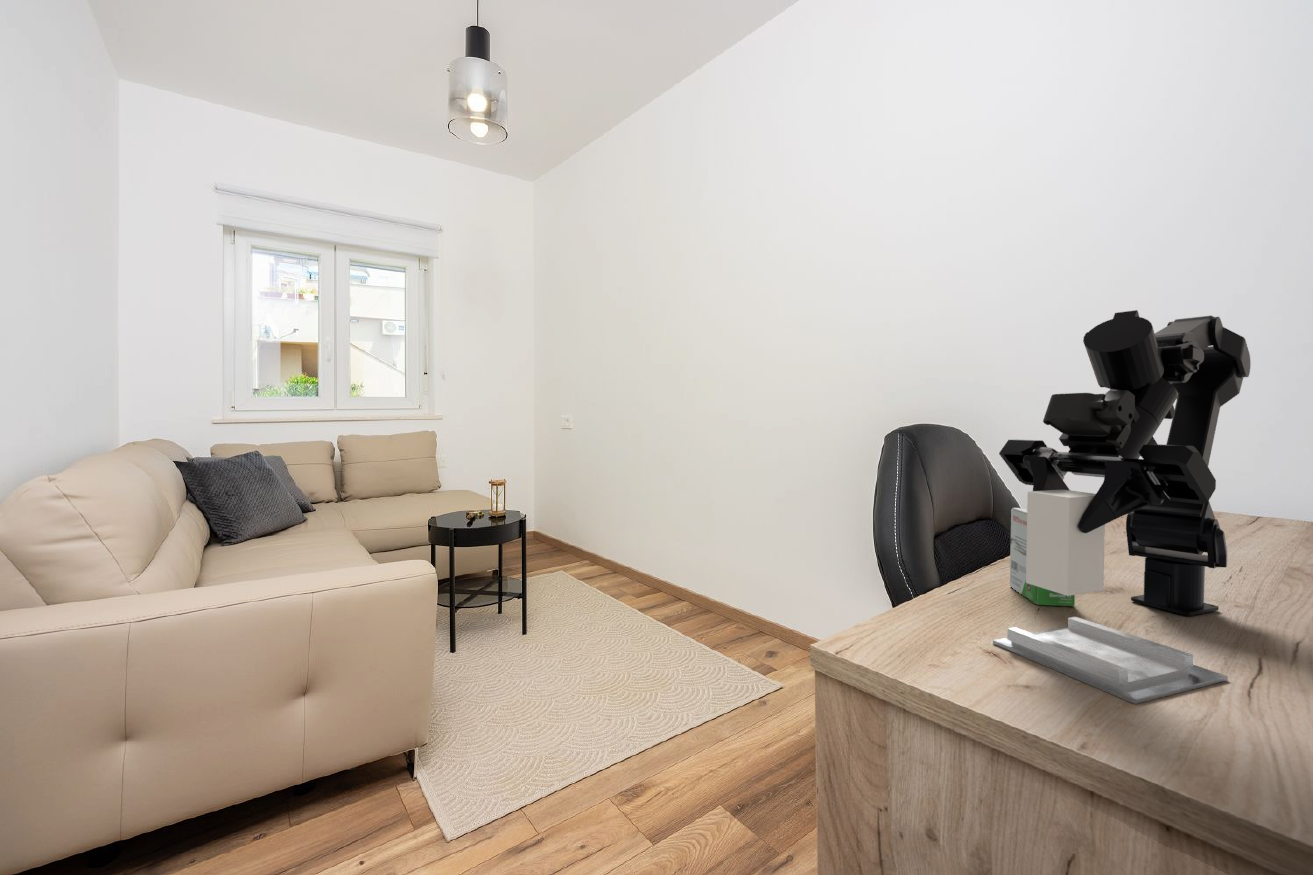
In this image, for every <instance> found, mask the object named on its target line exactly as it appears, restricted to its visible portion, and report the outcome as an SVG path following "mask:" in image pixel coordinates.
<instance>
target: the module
mask: <svg viewBox="0 0 1313 875" xmlns="http://www.w3.org/2000/svg"><path fill="white" fill-rule="evenodd" d="M1095 495H1096V493H1093V492H1084V491H1077V490H1071V489H1069V490H1063V489H1061V490H1046V491H1033V490H1031V491H1027V503H1026V504H1027V505H1026V508H1027V552H1026V583H1028V584H1031V585H1035V586H1038V587H1041V588H1044V589H1047V590H1051V591H1054V592H1057V593H1060V594H1063V595H1066V596H1069V595H1082V594H1090V593H1097V592H1104V584H1105V583H1104V579H1105V578H1104V577H1105V576H1104V575H1105V543H1106V540H1105V537H1106V536H1105V535H1106V534H1105V533H1106V524H1105V525H1103V526H1100V527H1098V528H1096V529H1094V530H1092V531H1090V532H1088V533H1082V532H1081V531H1080V529H1079V528H1078V524H1079V522H1080V520H1081V518H1082V516H1083V514H1084V512H1085V510H1086V509H1087V507H1088V506H1089V504H1090V503H1091V501H1092V499H1093V498H1094V496H1095Z"/></svg>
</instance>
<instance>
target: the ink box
mask: <svg viewBox="0 0 1313 875" xmlns="http://www.w3.org/2000/svg"><path fill="white" fill-rule="evenodd" d="M1010 514H1011V515H1010V516H1011V517H1010V551H1009V552H1010V553H1009V554H1010V556H1009V557H1010V559H1009V561H1010V562H1009V587H1010V586H1011V587H1012V588H1013V590H1014V591H1015V590H1016V592H1017V593H1018V592H1019V593H1018V594H1020V595H1021V594H1022V596H1023V597H1024V598H1026V599H1027V598H1028V599H1027V600H1029V601H1030V602H1032V603H1034V604H1035V605H1038V606H1059V607H1075V603H1076V602H1075V600H1076V597H1075V595H1069V596H1066V595H1063V594H1060V593H1057V592H1054V591H1051V590H1047V589H1044V588H1041V587H1038V586H1035V585H1031V584H1028V583H1026V552H1027V507H1012V508H1011V510H1010ZM1011 587H1010V588H1011ZM1012 588H1011V589H1012Z"/></svg>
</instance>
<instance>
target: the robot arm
mask: <svg viewBox="0 0 1313 875" xmlns="http://www.w3.org/2000/svg"><path fill="white" fill-rule="evenodd" d="M1083 344H1084V347H1085V350H1086V353H1087V356H1088V358H1089V362H1090V365H1091V368H1092V370H1093V374H1094V375H1095V376H1094V377H1095V379H1096V382H1097V384H1098V387H1100V388H1106V389H1109V390H1108V391H1107V392H1105V393H1092V392H1069V393H1068V392H1067V393H1054V394H1051V395H1050V400H1049V402H1048V405H1047V407H1046V411H1045V413H1044V417H1043V418H1042V419H1043V420H1042V423H1043V424H1044V425H1046V426H1051V427H1053V429H1055V430H1057V431H1058V432H1060V433H1061V435H1060V436H1059V437H1058V440H1059V442H1060V443H1061V444H1062V446H1063V447H1068V452H1067V451H1057V450H1056V449H1054V448H1053V447H1049V446H1047V444H1046V443H1045V441H1044V440H1041V439H1040V440H1038V439H1008V440H1007V441H1006V443H1005V444H1004V446H1003V447H1002V448H1001V450H1000V451H999V453H998V454H999V456H1000V457H1001V458H1002V460H1003V461H1004V463H1005V464H1006V465H1007V467H1008V468H1009V469H1010V471H1011V472H1012V474H1013V475H1014V476H1015V477H1016V479H1017V480H1018V481H1019V482H1020V483H1022V484H1023V485H1026V486H1027V485H1028V486H1032V491H1046V490H1061V489H1063V490H1070V488H1069V487H1068V485H1067V484H1066V483H1065V481H1064V479H1065V476H1066V475H1067V474H1068V473H1071V474H1072V475H1075V476H1081V477H1082V476H1084V477H1095V478H1104V479H1103V482H1102V484H1101V485H1100V487H1099V488H1098V490H1097V492H1096V493H1095V494H1096V495H1095V496H1094V498H1093V499H1092V501H1091V503H1090V504H1089V506H1088V507H1087V509H1086V510H1085V512H1084V514H1083V516H1082V518H1081V520H1080V522H1079V524H1078V528H1079V529H1080V531H1081V532H1082V533H1088V532H1090V531H1092V530H1094V529H1096V528H1098V527H1100V526H1103V525H1105V526H1106V524H1108V523H1111V522H1113V521H1115V520H1117V519H1119V518H1121V517H1124V516H1125V515H1127V516H1126V519H1125V520H1126V521H1125V531H1126V532H1125V533H1126V539H1127V540H1126V542H1127V550H1128V555H1129V556H1130V557H1131V556H1132V557H1136V556H1137V557H1141V558H1144V571H1143V594H1141V595H1140V594H1139V595H1135V596H1131V597H1130V600H1131V602H1134V603H1138V604H1142V605H1145V606H1149V607H1153V608H1156V609H1160V610H1163V611H1168V612H1170V613H1171V612H1172V613H1175V614H1179V615H1182V616H1188V617H1189V616H1195V615H1196V616H1197V615H1200V614H1206V613H1211V612H1216V611H1219V606H1218V605H1216V604H1211V603H1207V602H1205V579H1206V578H1205V576H1206V571H1205V570H1206V567H1207V568H1209V569H1217V568H1227V567H1228V548H1227V541H1226V534H1225V532H1224V531H1223V530H1222V529H1221V526H1220V524H1219V521H1218V519H1217V518H1216V517H1215V514H1214V510H1213V508H1212V505H1211V503H1210V500H1211V497H1212V496H1213V494H1214V492H1215V491H1216V487H1217V485H1216V484H1217V481H1216V478H1215V476H1214V474H1213V473H1212V471H1211V469H1210V468H1209V464H1210V458H1211V454H1212V450H1213V443H1214V439H1215V435H1216V429H1217V424H1218V419H1219V416H1220V410H1221V407H1223V406H1224V405H1225V404H1227V403H1228V402H1230V401H1231V400H1232V399H1233V398H1236V396H1238V395H1239V394H1240V392H1241V388H1242V385H1243V381H1244V378H1249V375H1250V373H1251V354H1250V350H1249V347H1248V344H1247V341H1246V338H1245V337H1244V336H1242V335H1240V334H1238V333H1236V332H1234V331H1232V330H1230V329H1228V328H1227V327H1225V326H1224V325H1223V322H1222V320H1221V318H1220V316H1213V315H1205V316H1194V317H1187V318H1185V317H1184V318H1176V319H1174V321H1169V322H1168V323H1167V325H1166V326H1165V327H1163V328H1162V329H1160V330H1158V331H1156V332H1155V330H1154V326H1153V324H1152V322H1151V321H1150V320H1149V319H1146V318H1144V317H1142V316H1141V317H1140V314H1139V311H1138V309H1136V310H1127V311H1120V312H1119V311H1118V312H1115V313H1114V314H1113V317H1112V319H1109V320H1108V319H1107V320H1106V321H1103V322H1101V323H1099V324H1097V325H1095V326H1094V327H1093V328H1092V329H1090V330H1089V331H1088V332H1086V333H1084V336H1083ZM1174 404H1175V406H1174ZM1164 420H1171V423H1170V427H1169V431H1168V432H1169V433H1168V435H1167V436H1168V437H1167V440H1166V444H1159V443H1157V440H1156V439H1155V438H1154V435H1155V434H1156V432H1157V430H1158V429H1159V428H1160V425H1161V424H1162V423H1163V421H1164ZM1140 457H1141V458H1140ZM1204 553H1207V554H1204Z"/></svg>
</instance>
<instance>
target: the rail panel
mask: <svg viewBox="0 0 1313 875" xmlns="http://www.w3.org/2000/svg"><path fill="white" fill-rule="evenodd" d="M1006 631H1007V637H1003V638H997V639H993V640H992V644H993V645H995V646H997V647H1000V648H1002V649H1004V650H1006V651H1010V652H1012V653H1013V654H1016V655H1018V656H1021V657H1023V658H1025V659H1028V660H1030V661H1033V662H1035V663H1038V664H1040V665H1042V666H1044V667H1047V668H1049V669H1051V670H1053V671H1056V672H1059V673H1061V674H1064V675H1065V676H1068V677H1070V678H1073V679H1075V680H1077V681H1079V682H1082V683H1085V684H1087V685H1090V686H1091V687H1093V688H1096V689H1098V690H1101V691H1103V692H1105V693H1108V694H1111V695H1113V696H1114V697H1117V698H1119V699H1122V700H1124V701H1127V702H1130V703H1132V704H1134V705H1137V704H1140V703H1145V702H1149V701H1153V700H1156V699H1160V698H1164V697H1168V696H1173V695H1176V694H1181V693H1183V692H1188V691H1192V690H1195V689H1199V688H1203V687H1207V686H1211V685H1215V684H1218V683H1223V682H1227V681H1228V680H1229V679H1228V675H1225V674H1223V673H1222V674H1221V673H1219V672H1217V671H1213V670H1211V669H1208V668H1204V667H1202V666H1199V665H1195V664H1194V654H1193V653H1189V652H1186V651H1182V650H1179V649H1177V648H1173V647H1170V646H1168V645H1164V644H1161V643H1159V642H1155V641H1152V640H1150V639H1145V638H1143V637H1139V636H1137V635H1133V634H1130V633H1128V632H1125V631H1124V632H1123V631H1122V630H1118V629H1115V628H1111V627H1109V626H1105V625H1102V624H1099V623H1096V622H1093V621H1090V620H1088V619H1083V618H1081V617H1078V616H1072V617H1067V626H1064V627H1058V628H1052V629H1046V630H1042V631H1036V632H1030V631H1027V630H1024V629H1022V628H1019V627H1016V626H1013V627H1009V628H1007V630H1006Z"/></svg>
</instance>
